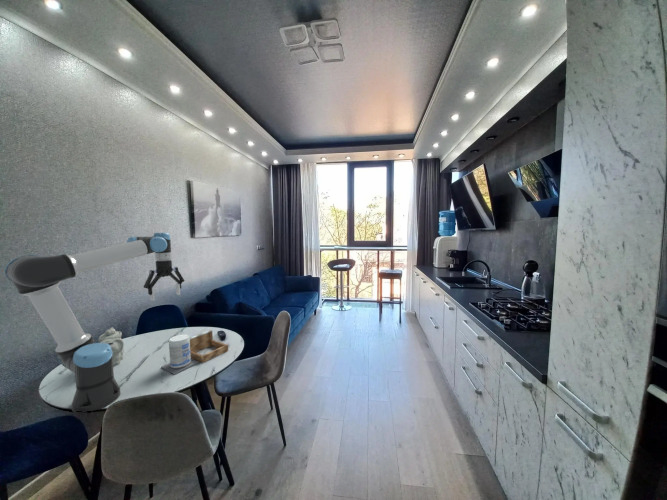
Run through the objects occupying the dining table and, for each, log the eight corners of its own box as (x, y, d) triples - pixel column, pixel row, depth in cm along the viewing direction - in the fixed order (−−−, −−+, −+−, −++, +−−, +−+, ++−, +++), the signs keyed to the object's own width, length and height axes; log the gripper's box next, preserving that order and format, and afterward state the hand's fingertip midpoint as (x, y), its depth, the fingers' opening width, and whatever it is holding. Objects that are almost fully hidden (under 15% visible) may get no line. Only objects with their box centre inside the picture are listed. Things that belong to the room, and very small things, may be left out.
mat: (174, 374, 126) (174, 373, 126) (161, 367, 133) (161, 366, 133) (199, 363, 138) (199, 361, 138) (185, 357, 144) (185, 356, 144)
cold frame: (202, 363, 138) (201, 346, 137) (185, 355, 146) (184, 339, 145) (228, 350, 152) (227, 335, 151) (211, 344, 160) (210, 329, 159)
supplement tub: (187, 367, 132) (186, 340, 131) (167, 370, 130) (165, 342, 128) (193, 358, 141) (191, 333, 140) (174, 360, 139) (172, 335, 138)
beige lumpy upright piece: (104, 373, 128) (101, 338, 126) (81, 370, 131) (78, 335, 129) (136, 357, 144) (133, 325, 143) (114, 355, 147) (112, 324, 146)
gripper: (140, 263, 128) (143, 303, 130) (189, 258, 150) (191, 293, 152) (134, 262, 132) (137, 301, 134) (182, 257, 154) (184, 291, 155)
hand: (166, 297), depth 143 cm, fingers open, 13 cm apart
